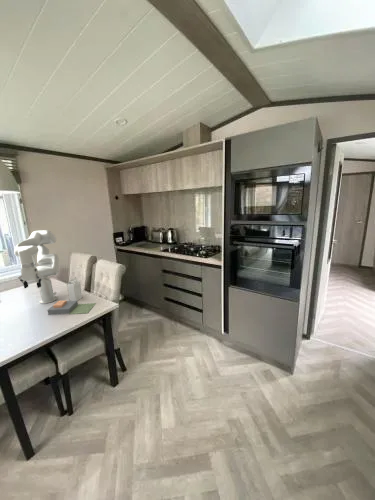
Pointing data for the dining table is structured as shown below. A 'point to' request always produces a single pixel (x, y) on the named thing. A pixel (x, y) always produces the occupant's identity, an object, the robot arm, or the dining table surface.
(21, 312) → the dining table surface
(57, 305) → the tile
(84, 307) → the mat
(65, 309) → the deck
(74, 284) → the milk carton
